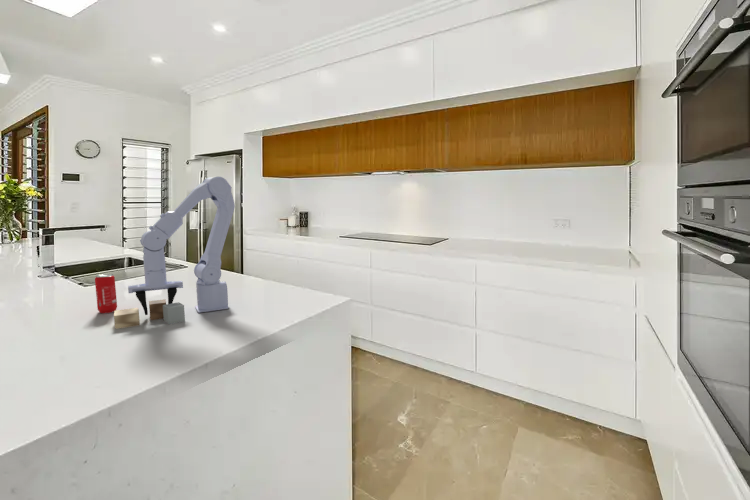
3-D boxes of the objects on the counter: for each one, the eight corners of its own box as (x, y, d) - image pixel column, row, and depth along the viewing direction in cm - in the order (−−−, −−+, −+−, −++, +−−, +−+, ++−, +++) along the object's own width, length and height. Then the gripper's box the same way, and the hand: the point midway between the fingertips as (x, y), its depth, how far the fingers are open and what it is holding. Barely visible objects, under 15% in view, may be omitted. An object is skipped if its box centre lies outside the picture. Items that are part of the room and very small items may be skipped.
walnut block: (166, 314, 120) (165, 299, 120) (167, 318, 116) (166, 302, 116) (150, 316, 118) (148, 301, 117) (150, 320, 114) (149, 304, 113)
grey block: (179, 317, 117) (178, 302, 116) (185, 321, 114) (184, 305, 113) (163, 321, 114) (162, 305, 113) (168, 324, 111) (167, 308, 110)
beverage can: (107, 314, 120) (104, 277, 118) (93, 313, 121) (90, 276, 119) (121, 309, 125) (118, 274, 123) (108, 308, 126) (105, 273, 124)
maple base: (139, 320, 115) (138, 307, 114) (139, 325, 110) (138, 312, 109) (115, 323, 111) (114, 310, 111) (115, 329, 106) (113, 315, 106)
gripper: (180, 265, 122) (183, 306, 124) (127, 269, 115) (130, 312, 117) (182, 269, 116) (185, 311, 118) (126, 273, 109) (130, 318, 111)
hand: (158, 312), depth 117 cm, fingers open, 6 cm apart
